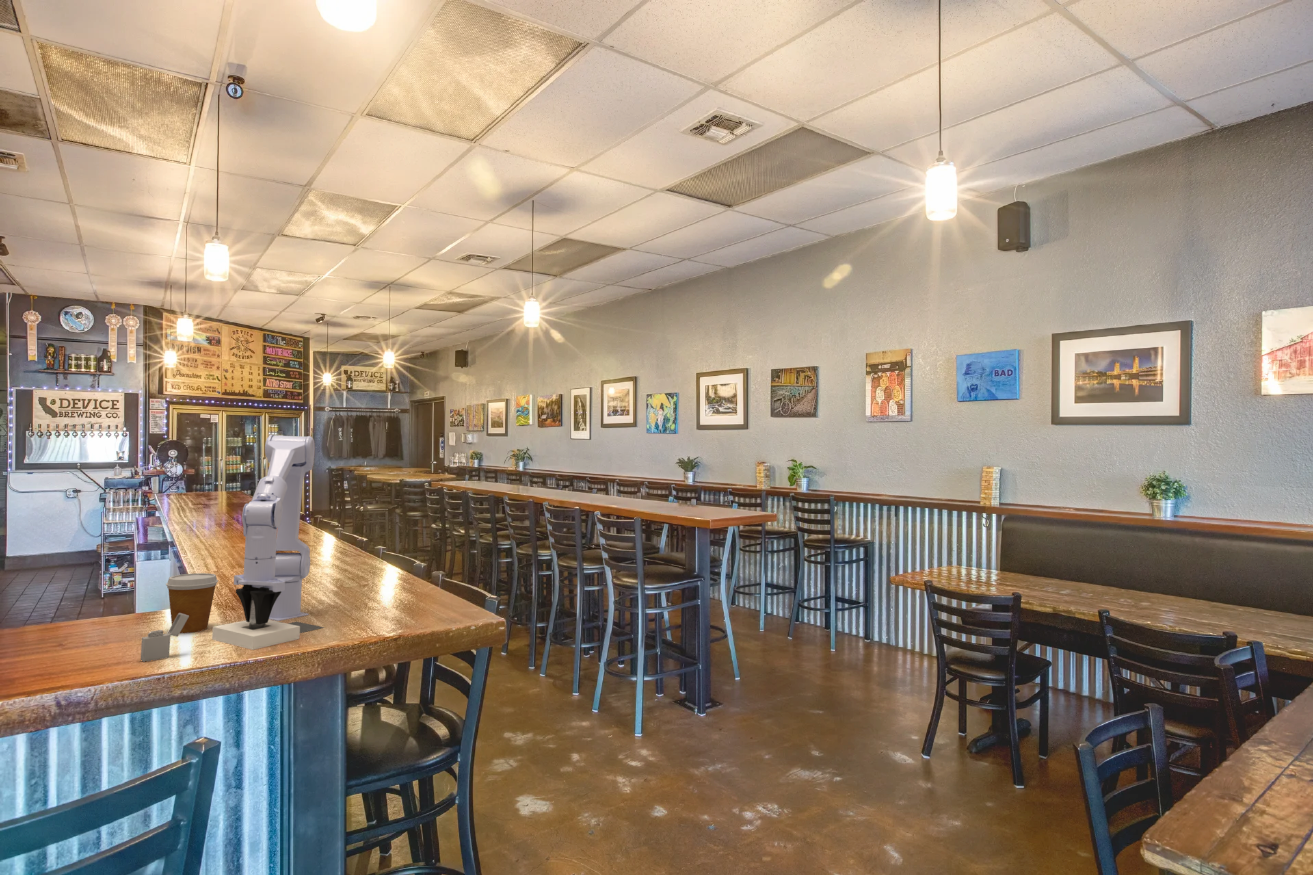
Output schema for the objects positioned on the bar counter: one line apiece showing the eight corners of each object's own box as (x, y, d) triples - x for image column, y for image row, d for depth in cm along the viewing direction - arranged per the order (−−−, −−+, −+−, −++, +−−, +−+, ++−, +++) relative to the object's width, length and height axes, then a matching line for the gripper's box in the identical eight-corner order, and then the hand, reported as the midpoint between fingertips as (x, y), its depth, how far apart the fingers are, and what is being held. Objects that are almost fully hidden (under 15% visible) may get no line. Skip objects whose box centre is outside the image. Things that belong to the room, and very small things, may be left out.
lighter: (143, 662, 126) (145, 619, 126) (140, 660, 127) (142, 617, 127) (187, 654, 132) (189, 612, 132) (183, 652, 133) (185, 611, 133)
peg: (245, 637, 141) (248, 594, 142) (259, 634, 144) (262, 592, 145) (253, 639, 140) (257, 595, 141) (267, 636, 143) (270, 593, 143)
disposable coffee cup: (225, 629, 150) (228, 575, 151) (179, 639, 142) (183, 581, 142) (198, 624, 154) (201, 571, 155) (153, 633, 146) (156, 577, 146)
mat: (263, 630, 151) (263, 628, 151) (296, 623, 158) (296, 621, 158) (291, 636, 146) (291, 635, 146) (324, 629, 153) (324, 627, 153)
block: (211, 641, 141) (212, 626, 141) (259, 631, 150) (259, 617, 150) (252, 651, 134) (253, 636, 134) (299, 640, 143) (299, 626, 143)
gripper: (220, 556, 142) (217, 621, 142) (262, 563, 136) (259, 631, 135) (253, 553, 149) (250, 615, 148) (295, 559, 142) (292, 624, 142)
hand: (256, 622), depth 142 cm, fingers closed on peg, 3 cm apart
